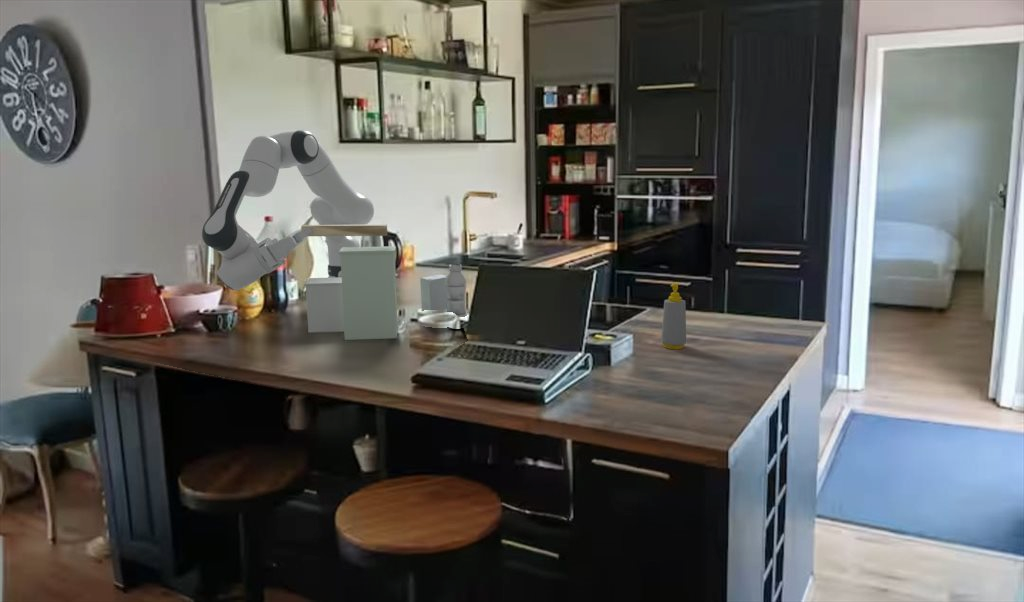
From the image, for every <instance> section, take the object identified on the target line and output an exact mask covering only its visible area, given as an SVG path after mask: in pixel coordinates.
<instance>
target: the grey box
mask: <svg viewBox="0 0 1024 602" xmlns="http://www.w3.org/2000/svg"><path fill="white" fill-rule="evenodd" d="M304 287H305V296H306V297H305V299H306V312H307V331H308V332H307V333H311V334H312V333H335V332H336V333H339V332H344V315H343V295H342V277H336V278H328V277H310V278H308V279H307V280H306V282H305V283H304Z"/></svg>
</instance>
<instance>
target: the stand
mask: <svg viewBox="0 0 1024 602" xmlns="http://www.w3.org/2000/svg"><path fill="white" fill-rule="evenodd" d="M396 249H397V248H396V245H394V246H392V245H389V246H360V247H343V248H342V249H341V250H340V251H339V254H340V256H341V275H342V295H343V315H344V331H343V332H344V333H343V334H344V341H347V340H349V341H350V340H353V341H354V340H356V341H357V340H379V339H397V338H398V333H399V329H398V324H399V323H398V304H397V302H398V300H397V282H396V281H397V275H396Z"/></svg>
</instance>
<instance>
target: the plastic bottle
mask: <svg viewBox="0 0 1024 602" xmlns="http://www.w3.org/2000/svg"><path fill="white" fill-rule="evenodd" d="M448 265H449V266H448V267H449V269H448V271H449V273H448V274H447V275H446V276H447V278H446V279H445V288H446V294H447V312H453V313H455V314H456V315H457V316H458V317H465V316H467V307H466V292H467V291H466V289H467V280H466V277H465V276H464V275H463V273H462V270H463V269H462V267H463V266H462V264H461V263H452V264H451V263H450V264H448ZM467 317H468V316H467Z"/></svg>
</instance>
